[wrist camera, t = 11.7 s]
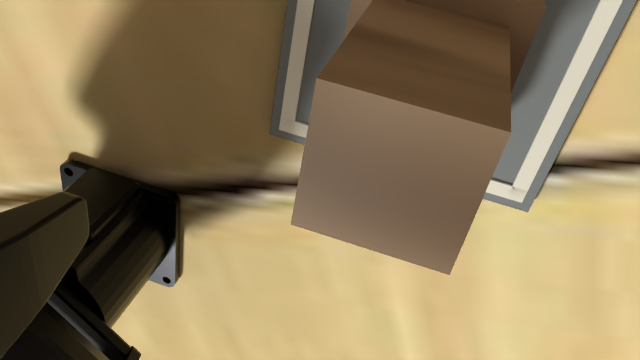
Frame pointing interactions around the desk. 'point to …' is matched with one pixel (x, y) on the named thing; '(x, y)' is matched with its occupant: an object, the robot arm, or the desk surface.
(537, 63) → the marked board
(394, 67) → the stamp
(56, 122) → the desk surface
